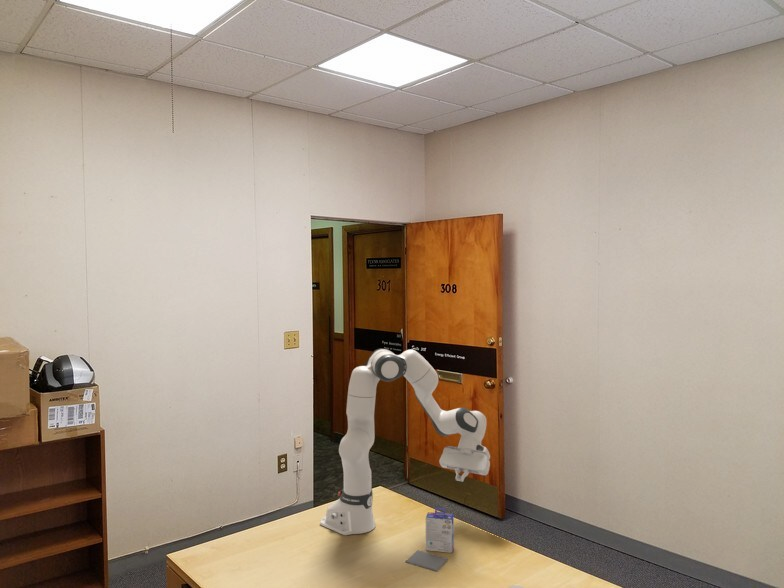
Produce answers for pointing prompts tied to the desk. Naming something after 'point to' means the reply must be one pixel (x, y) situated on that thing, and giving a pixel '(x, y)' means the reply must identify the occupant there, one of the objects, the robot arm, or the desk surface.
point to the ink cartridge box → (439, 531)
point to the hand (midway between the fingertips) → (459, 480)
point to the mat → (427, 560)
